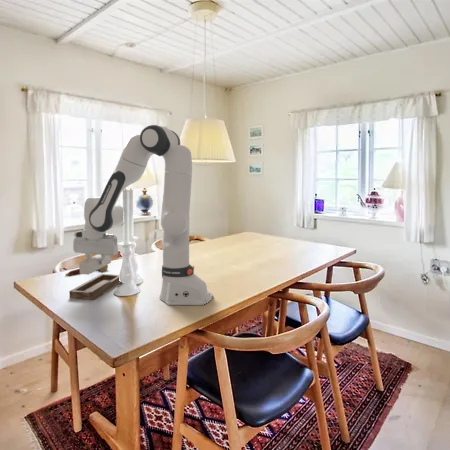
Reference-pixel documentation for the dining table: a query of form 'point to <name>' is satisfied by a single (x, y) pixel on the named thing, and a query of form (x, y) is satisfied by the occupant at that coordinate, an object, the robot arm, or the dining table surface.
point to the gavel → (79, 271)
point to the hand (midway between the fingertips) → (96, 263)
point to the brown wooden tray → (95, 287)
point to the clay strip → (93, 264)
